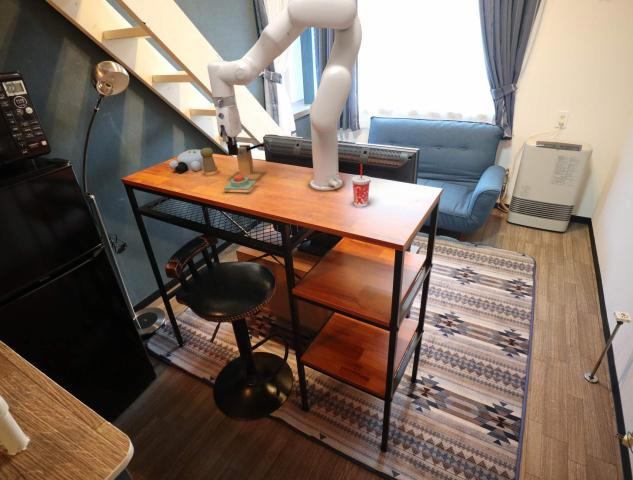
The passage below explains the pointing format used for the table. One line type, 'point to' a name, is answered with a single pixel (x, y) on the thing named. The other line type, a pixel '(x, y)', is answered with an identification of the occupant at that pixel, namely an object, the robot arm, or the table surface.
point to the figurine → (187, 161)
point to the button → (239, 178)
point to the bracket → (245, 160)
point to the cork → (208, 160)
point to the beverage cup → (361, 190)
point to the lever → (258, 145)
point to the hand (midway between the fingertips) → (233, 154)
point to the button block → (239, 185)
